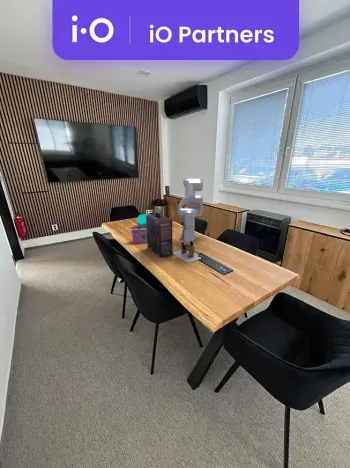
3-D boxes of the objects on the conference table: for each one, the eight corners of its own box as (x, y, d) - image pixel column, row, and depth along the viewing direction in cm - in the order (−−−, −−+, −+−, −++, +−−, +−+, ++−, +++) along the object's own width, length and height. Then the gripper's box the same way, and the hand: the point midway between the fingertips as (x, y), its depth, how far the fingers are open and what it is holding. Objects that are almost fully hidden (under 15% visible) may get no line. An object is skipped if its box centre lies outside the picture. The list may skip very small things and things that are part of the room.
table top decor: (133, 226, 242) (132, 215, 237) (154, 223, 255) (154, 212, 251) (146, 235, 209) (145, 223, 205) (169, 231, 223) (169, 220, 218)
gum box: (131, 244, 188) (131, 230, 184) (131, 241, 195) (130, 227, 191) (157, 241, 194) (157, 228, 190) (155, 238, 201) (155, 225, 197)
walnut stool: (188, 258, 158) (189, 248, 155) (180, 253, 167) (180, 244, 164) (194, 256, 161) (195, 247, 158) (186, 252, 170) (186, 243, 167)
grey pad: (172, 253, 168) (172, 252, 168) (187, 249, 176) (187, 248, 176) (187, 263, 151) (187, 262, 151) (203, 258, 160) (203, 257, 160)
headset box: (146, 247, 180) (145, 210, 169) (159, 244, 186) (158, 209, 175) (159, 258, 160) (159, 217, 149) (173, 254, 166) (173, 215, 156)
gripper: (182, 229, 148) (181, 252, 154) (200, 226, 158) (199, 247, 163) (176, 227, 154) (176, 248, 160) (194, 223, 164) (193, 244, 169)
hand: (187, 248), depth 162 cm, fingers open, 7 cm apart
